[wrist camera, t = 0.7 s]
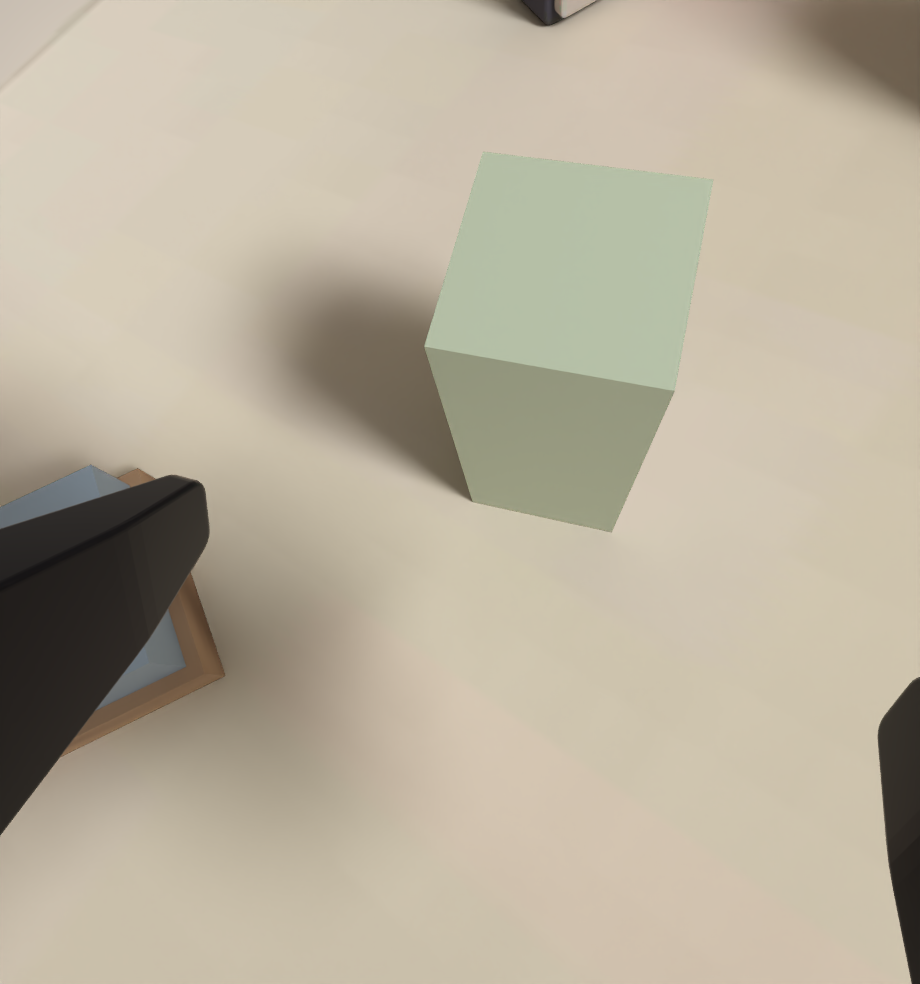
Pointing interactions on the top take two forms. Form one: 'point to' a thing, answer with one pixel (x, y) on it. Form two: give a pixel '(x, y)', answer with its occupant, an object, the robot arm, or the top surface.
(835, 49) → the top surface
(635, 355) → the sage block
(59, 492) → the slate top block
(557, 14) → the calculator
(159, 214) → the top surface
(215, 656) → the walnut base block
